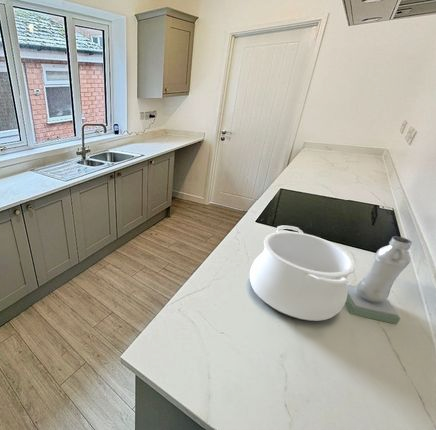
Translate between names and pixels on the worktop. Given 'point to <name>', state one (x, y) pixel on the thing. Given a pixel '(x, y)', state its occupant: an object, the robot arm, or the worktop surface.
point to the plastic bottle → (385, 270)
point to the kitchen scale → (370, 307)
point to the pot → (302, 275)
